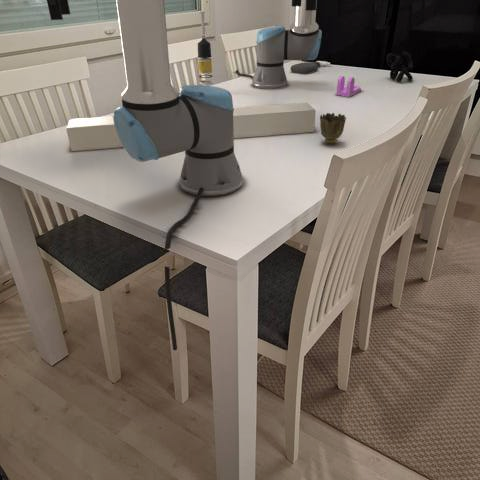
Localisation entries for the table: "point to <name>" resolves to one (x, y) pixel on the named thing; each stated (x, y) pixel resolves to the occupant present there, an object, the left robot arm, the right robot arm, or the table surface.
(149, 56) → the left robot arm
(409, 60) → the squiggle
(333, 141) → the cup
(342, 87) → the bracket
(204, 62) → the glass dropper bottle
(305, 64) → the frying pan
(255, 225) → the table surface
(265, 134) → the slab
